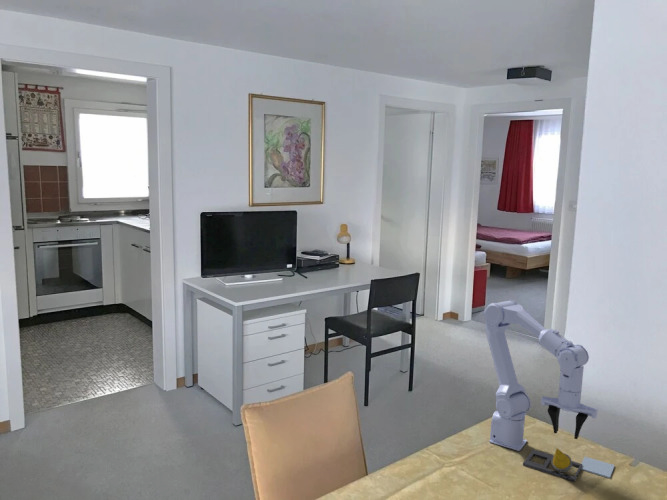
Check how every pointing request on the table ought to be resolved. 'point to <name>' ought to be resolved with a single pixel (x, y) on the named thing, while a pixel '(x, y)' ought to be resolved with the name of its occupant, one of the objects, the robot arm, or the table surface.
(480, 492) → the table surface
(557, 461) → the yellow cone
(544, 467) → the rectangular frame
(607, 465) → the mat
